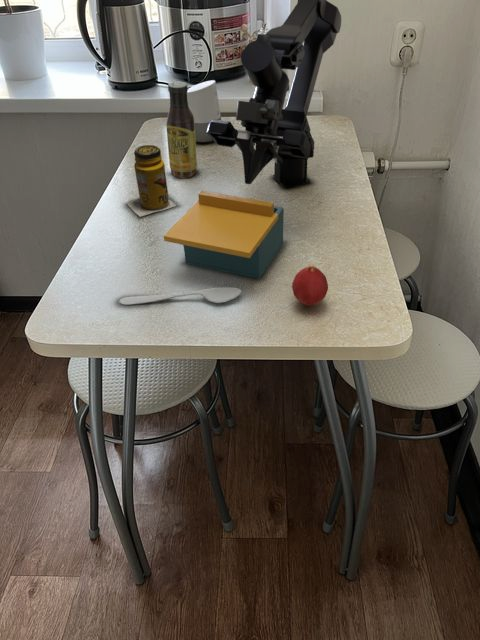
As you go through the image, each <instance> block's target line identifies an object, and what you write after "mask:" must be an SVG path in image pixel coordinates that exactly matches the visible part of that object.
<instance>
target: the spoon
mask: <svg viewBox="0 0 480 640" xmlns="http://www.w3.org/2000/svg"><path fill="white" fill-rule="evenodd" d="M241 293H242V290H241V289H240V288H239V287H212V288H206V289H198V290H191V291H185V292H174V293H162V294H151V295H137V296H135V295H134V296H125V297H123V298H121V299H119V301H118V302H119V303H120V304H121V305H123V306H132V305H141V304H147V303H148V304H149V303H155V302H159V301H165V300H169V299H172V298H178V297H185V296H192V295H200V296H202V297H203V298H204V299H206V300H207V301H209V302H211V303H216V304H221V303H226V302H228V301H232V300H233V299H235V298H237V297H238V296H239V295H240V294H241Z"/></svg>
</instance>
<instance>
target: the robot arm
mask: <svg viewBox="0 0 480 640" xmlns="http://www.w3.org/2000/svg"><path fill="white" fill-rule="evenodd" d="M341 27H342V14H341V12H340V9H339V8H338V6H336V5H334V4H333V3H332V2H330V1H328V0H297V3H296V4H295V6H294V7H293V9H292V10H291V12H290V13H289V15H288V16H287V17H286V19H285V20H284V22H283V23H282V25H280V26H276V27H272V28H270V30H268V31H267V32H266V33H265V34H264V33H257V36H256V39H255V40H253V41H250V42H249V43H247V45H246V46H245V47H244V49H243V50H242V51H241V54H240V62H241V64H242V66H243V68H244V70H245V72H246V74H247V76H248V78H249V80H250V82H251V83H252V84H253V85H254V86H255V89H254V93H253V97H249V100H248V101H245V100H237V107H236V116H235V120H236V122H237V121H240V125H241V127H242V128H245V129H241V128H238V129H237V128H235V127H234V125H233V123H232V122H231V121H229V120H222V119H221V120H212V121H211V122H210V123H209V125H208V129H207V134H208V135H209V136H210V137H211V139H212V140H213V141H212V142H214V143H215V145H217V146H219V147H224V148H226V147H227V148H233V147H235V146H237V148H238V149H239V151H240V152H241V155H242V161H243V173H244V175H243V176H244V183H245V184H246V185H251V184H252V183H253V182H254V181H255V179H257V177H258V176H259V174H260V173H261V172H262V170H263V169H264V168H265V167H266V166H267V165H269V163H271V161H272V160H273V159H275V161H274V174H273V175H272V179H273V180H275V181H276V182H278V184H279V185H281V186H282V187H283V188H284V189H289V188H294V187H297V186H301V185H305V184H306V185H307V184H310V183H311V179H310V178H309V177H308V160H309V159H311V158H314V154H315V139H314V138H313V135H312V133H311V127H310V124H309V120H308V117H307V116H308V112H309V108H310V104H311V101H312V97H313V93H314V91H315V86H316V82H317V79H318V75H319V72H320V68H321V64H322V61H323V56H324V54H325V53H326V52H327V51H328V50H329V49H330V48H331V47H332V46H334V44H335V42H336V41H335V40H336V38H337V35H338V34H339V33H340V31H341ZM285 70H289V71H295V73H294V76H293V81H292V84H291V88H290V79H289V76H288V74H287V73H286V72H285ZM289 91H290V92H289ZM288 92H289V96H288V99H287V103H286V106H285V107H284V105H285V101H286V97H287V93H288Z"/></svg>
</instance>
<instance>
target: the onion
mask: <svg viewBox="0 0 480 640" xmlns="http://www.w3.org/2000/svg"><path fill="white" fill-rule="evenodd" d="M327 280H328V279H327V277H326V275H325V274H324V272H323V271H321V270H320V269H319V268H317V267H315V266H314V265H313V264H309V265H308V266H306V267H304V268H302V269H300V270H299V271H298V272H297V273H296V274H295V276H294V277H293V281H292V283H291V289H292V294H293V296H294V298H295V299H296V300H297V301H298V302H300V303H301V304H303V305H305V306H306V307H312V306H314V305H316V304H318V303H320V302H322V301H323V300H324V299H325V298H326V296H327V294H328V290H329V284H328V281H327Z"/></svg>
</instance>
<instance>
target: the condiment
mask: <svg viewBox="0 0 480 640" xmlns="http://www.w3.org/2000/svg"><path fill="white" fill-rule="evenodd" d="M133 154H134V165H133V167H134V171H135V178H136V179H135V180H136V184H137V190H138V195H139V197H138V198H136V199H133V200H128V201H126V202H125V204H126V205H127V206H128V207H129V208H130V209H131V210H132V212H134V213H135V214H136V215H138V217H139V218H141V217H144V216H147V215H151V214H153V213H158V212H161V211H165V210H168V209H171V208H174V207H176V206H177V205H176V203H174V202H173V201H172V200H171V199H170V198H169V190H168V183H167V176H166V175H167V174H166V167H165V162H164V160H163V158H162V152H161V149H160V147H159V146H158V145H153V144H144V145H141V146H138V147H136V149H134V152H133Z"/></svg>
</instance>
